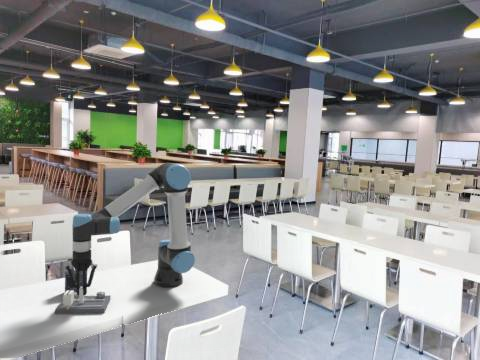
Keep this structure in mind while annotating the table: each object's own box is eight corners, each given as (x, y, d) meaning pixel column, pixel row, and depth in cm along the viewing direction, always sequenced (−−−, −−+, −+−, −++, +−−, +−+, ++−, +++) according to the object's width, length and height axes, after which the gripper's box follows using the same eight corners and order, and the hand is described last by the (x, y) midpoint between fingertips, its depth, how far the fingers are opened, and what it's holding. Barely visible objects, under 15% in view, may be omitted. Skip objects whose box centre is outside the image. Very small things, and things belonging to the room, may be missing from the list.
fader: (73, 301, 166) (73, 289, 166) (70, 306, 162) (70, 294, 161) (66, 301, 166) (66, 290, 166) (63, 306, 161) (63, 294, 161)
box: (66, 296, 176) (66, 274, 176) (64, 292, 181) (64, 271, 180) (84, 293, 181) (84, 272, 180) (82, 289, 186) (82, 268, 185)
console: (110, 299, 175) (110, 291, 175) (104, 313, 161) (104, 304, 161) (65, 300, 172) (65, 291, 172) (54, 314, 158) (54, 305, 158)
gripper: (99, 247, 167) (99, 298, 169) (68, 247, 165) (68, 298, 167) (95, 252, 160) (95, 305, 162) (63, 252, 158) (63, 305, 160)
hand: (81, 301), depth 165 cm, fingers closed
